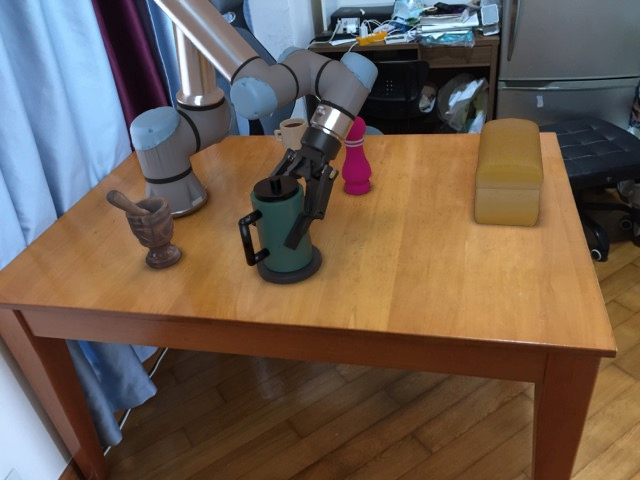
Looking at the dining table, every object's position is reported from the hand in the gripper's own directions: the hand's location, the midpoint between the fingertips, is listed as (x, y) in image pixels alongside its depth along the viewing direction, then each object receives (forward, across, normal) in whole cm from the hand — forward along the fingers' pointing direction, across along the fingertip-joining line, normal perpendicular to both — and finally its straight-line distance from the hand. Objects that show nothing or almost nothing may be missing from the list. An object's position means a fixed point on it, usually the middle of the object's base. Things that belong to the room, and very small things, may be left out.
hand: (272, 237), depth 105 cm
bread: (-30, +15, +43) cm, 55 cm away
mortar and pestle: (+17, -21, -6) cm, 28 cm away
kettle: (+3, 0, +6) cm, 6 cm away
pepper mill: (-17, -13, +29) cm, 37 cm away
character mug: (-16, -34, +27) cm, 47 cm away
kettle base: (+4, 0, +7) cm, 8 cm away
